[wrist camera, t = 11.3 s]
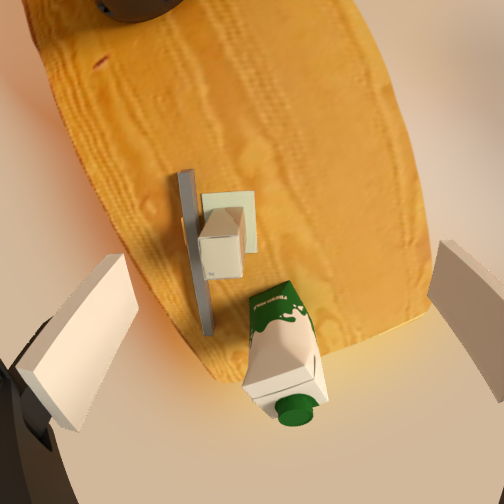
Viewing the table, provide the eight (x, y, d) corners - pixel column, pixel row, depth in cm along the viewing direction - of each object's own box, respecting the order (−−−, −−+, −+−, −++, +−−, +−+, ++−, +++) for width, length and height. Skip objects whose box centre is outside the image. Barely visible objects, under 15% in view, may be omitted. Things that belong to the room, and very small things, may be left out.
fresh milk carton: (267, 333, 49) (270, 435, 31) (240, 295, 46) (231, 400, 28) (315, 314, 47) (338, 415, 29) (292, 272, 44) (311, 374, 26)
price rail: (179, 170, 38) (174, 173, 35) (193, 168, 38) (189, 172, 35) (203, 326, 49) (201, 336, 47) (215, 326, 49) (213, 336, 46)
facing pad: (201, 193, 39) (201, 194, 39) (254, 190, 39) (253, 190, 39) (209, 254, 43) (208, 254, 43) (257, 252, 43) (257, 252, 42)
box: (246, 240, 42) (243, 281, 32) (216, 242, 42) (203, 283, 32) (243, 204, 39) (238, 235, 29) (212, 206, 40) (196, 238, 30)
